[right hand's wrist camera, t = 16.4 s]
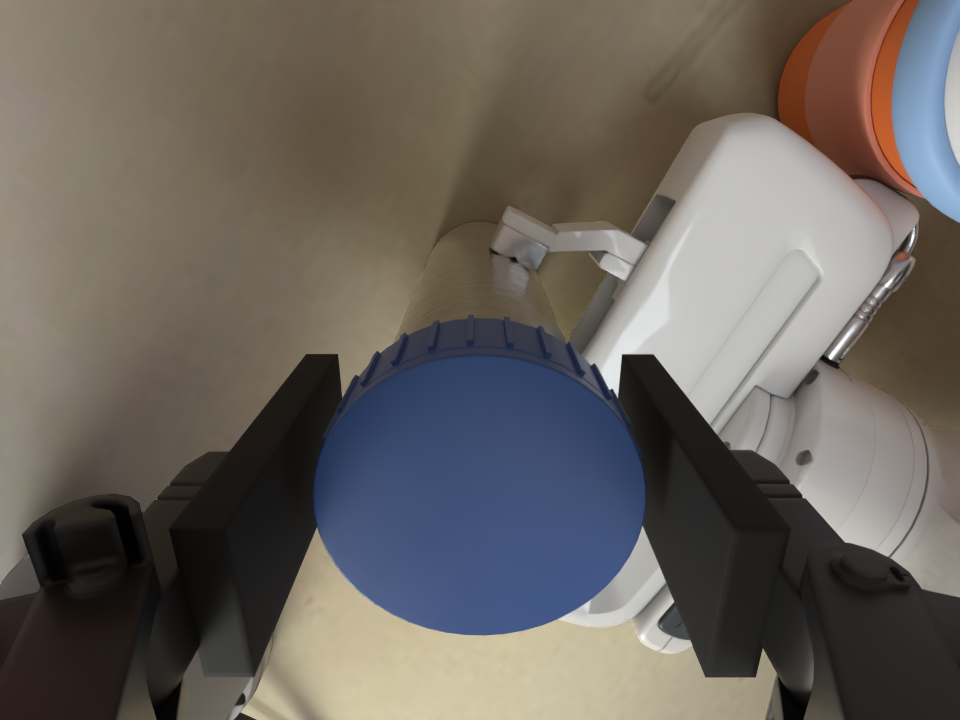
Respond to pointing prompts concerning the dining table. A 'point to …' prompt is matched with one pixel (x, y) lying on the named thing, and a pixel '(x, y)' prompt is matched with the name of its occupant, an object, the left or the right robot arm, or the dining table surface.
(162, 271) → the dining table surface
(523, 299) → the silver metal cylinder
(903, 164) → the cup with straw
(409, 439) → the lid
